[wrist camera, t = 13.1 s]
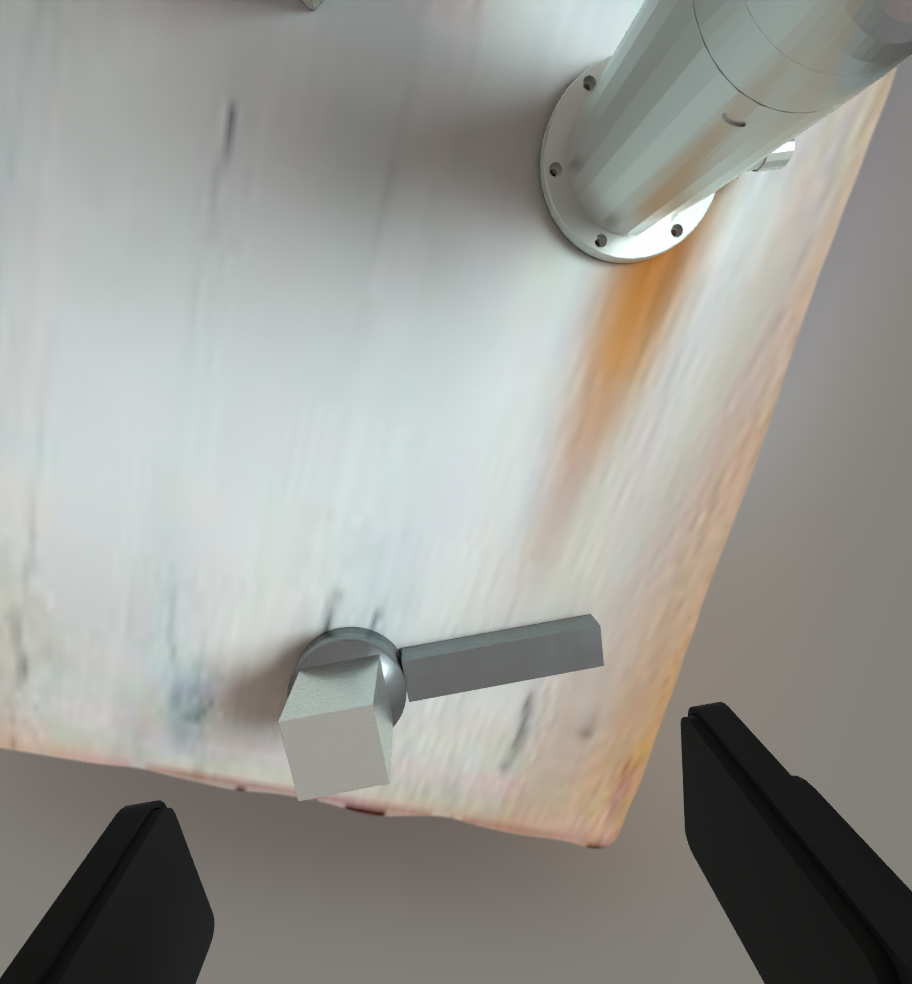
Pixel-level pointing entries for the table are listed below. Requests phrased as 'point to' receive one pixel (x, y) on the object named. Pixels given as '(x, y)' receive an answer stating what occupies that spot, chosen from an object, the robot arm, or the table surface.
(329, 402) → the table surface
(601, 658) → the ratchet
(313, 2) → the coffee box
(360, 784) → the brushed grey cube
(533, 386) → the table surface
